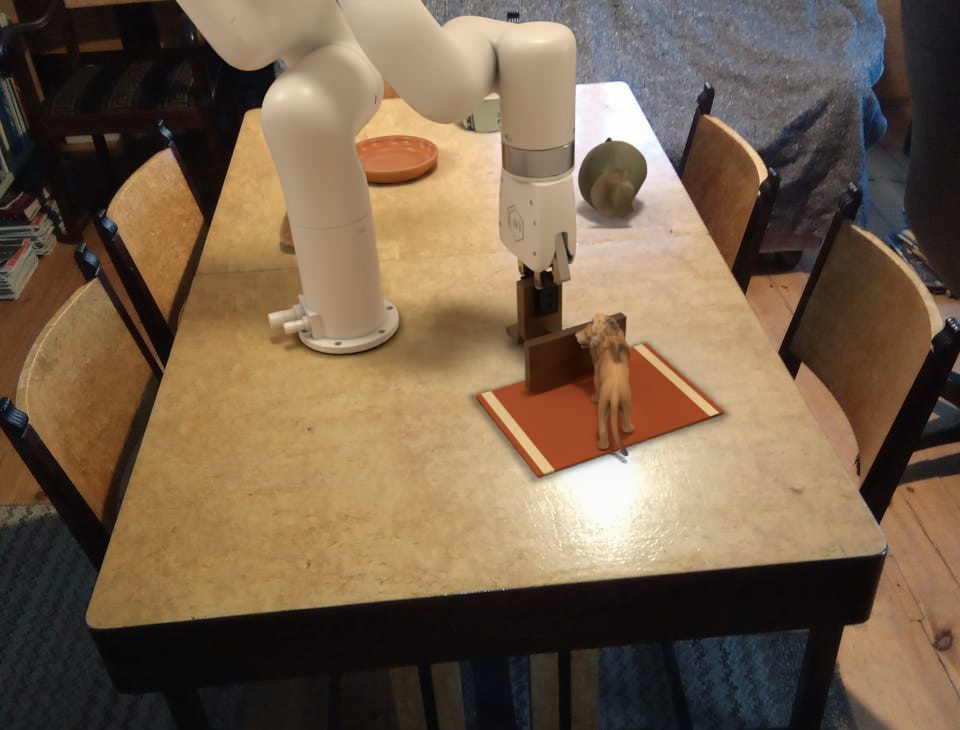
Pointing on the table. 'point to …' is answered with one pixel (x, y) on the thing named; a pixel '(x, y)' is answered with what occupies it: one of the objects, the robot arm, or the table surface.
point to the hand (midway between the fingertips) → (539, 308)
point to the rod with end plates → (550, 342)
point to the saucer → (396, 157)
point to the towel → (594, 413)
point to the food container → (485, 115)
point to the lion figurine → (609, 375)
